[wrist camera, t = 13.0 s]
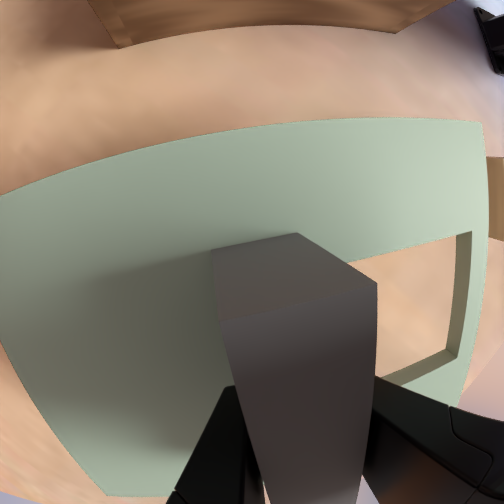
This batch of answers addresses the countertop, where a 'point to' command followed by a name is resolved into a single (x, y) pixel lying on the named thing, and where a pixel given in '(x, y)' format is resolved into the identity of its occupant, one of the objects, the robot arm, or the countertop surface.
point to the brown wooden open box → (252, 15)
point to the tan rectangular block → (496, 196)
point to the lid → (236, 293)
